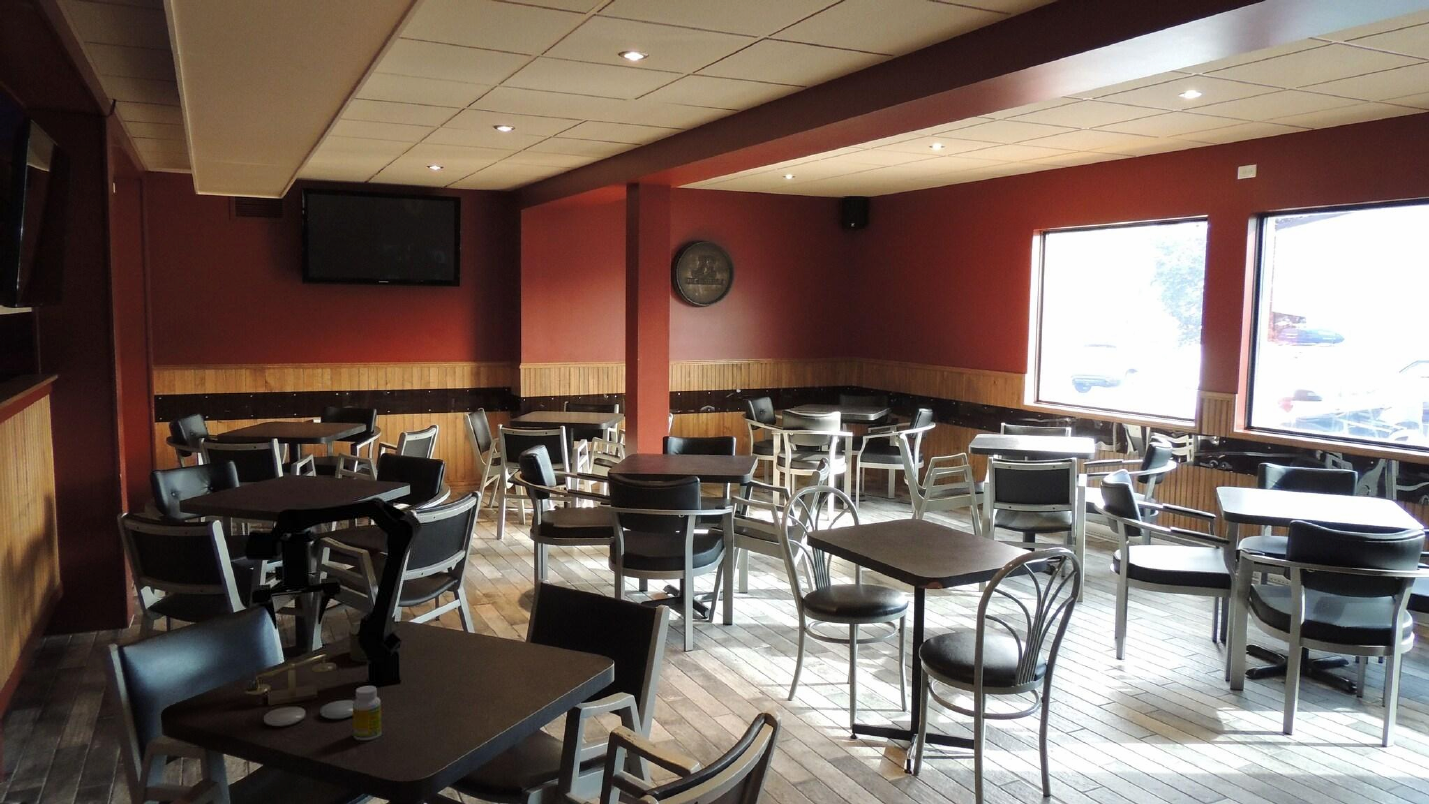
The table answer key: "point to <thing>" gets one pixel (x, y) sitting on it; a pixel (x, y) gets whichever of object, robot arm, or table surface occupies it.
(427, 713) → the table surface
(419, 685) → the table surface
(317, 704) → the table surface
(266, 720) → the dish
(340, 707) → the dish
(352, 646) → the can
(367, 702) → the supplement bottle
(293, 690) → the balance
